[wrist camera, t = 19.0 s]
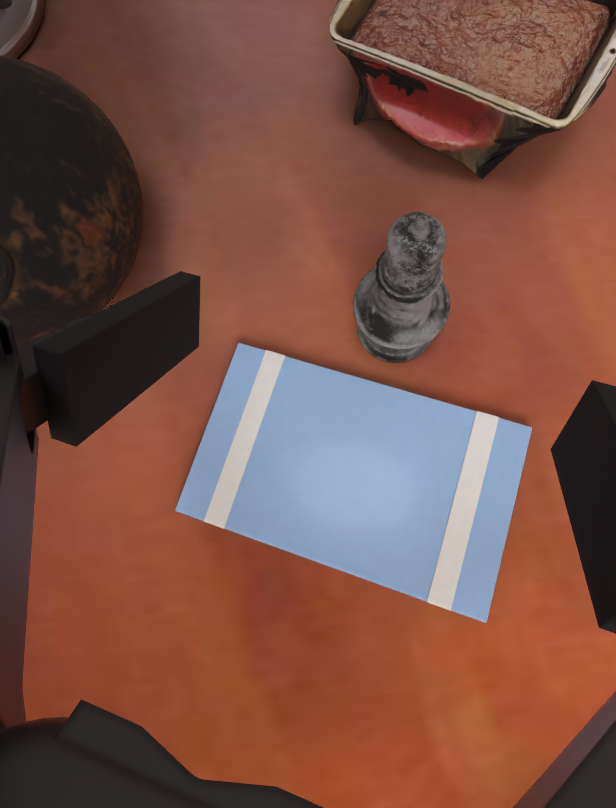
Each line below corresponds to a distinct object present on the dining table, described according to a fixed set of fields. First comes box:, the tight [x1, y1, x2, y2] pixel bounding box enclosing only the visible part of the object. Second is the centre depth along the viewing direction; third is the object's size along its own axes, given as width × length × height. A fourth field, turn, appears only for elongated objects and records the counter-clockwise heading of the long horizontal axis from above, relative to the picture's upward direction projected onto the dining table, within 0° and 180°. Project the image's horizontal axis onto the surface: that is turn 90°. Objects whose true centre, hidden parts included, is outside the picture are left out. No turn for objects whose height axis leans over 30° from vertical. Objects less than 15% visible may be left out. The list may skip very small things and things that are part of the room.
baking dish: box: [329, 0, 616, 179], centre depth 31 cm, size 14×18×10 cm
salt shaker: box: [353, 212, 450, 363], centre depth 25 cm, size 6×6×12 cm
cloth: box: [175, 343, 532, 623], centre depth 29 cm, size 12×20×1 cm, turn 72°
